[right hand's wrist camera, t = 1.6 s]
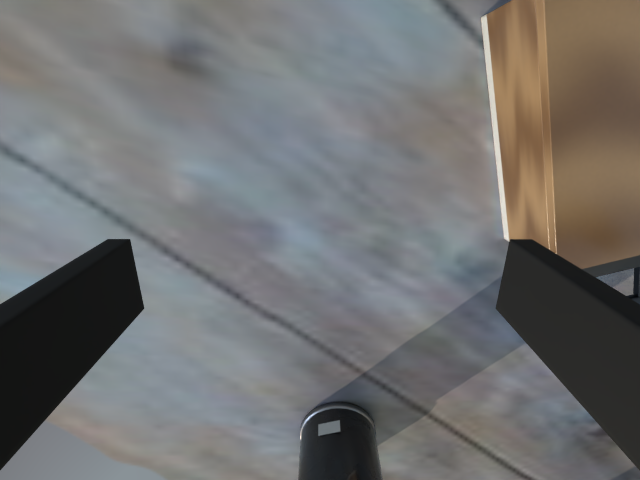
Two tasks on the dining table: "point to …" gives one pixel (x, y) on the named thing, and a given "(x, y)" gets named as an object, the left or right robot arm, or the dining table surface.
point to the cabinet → (567, 124)
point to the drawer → (628, 263)
